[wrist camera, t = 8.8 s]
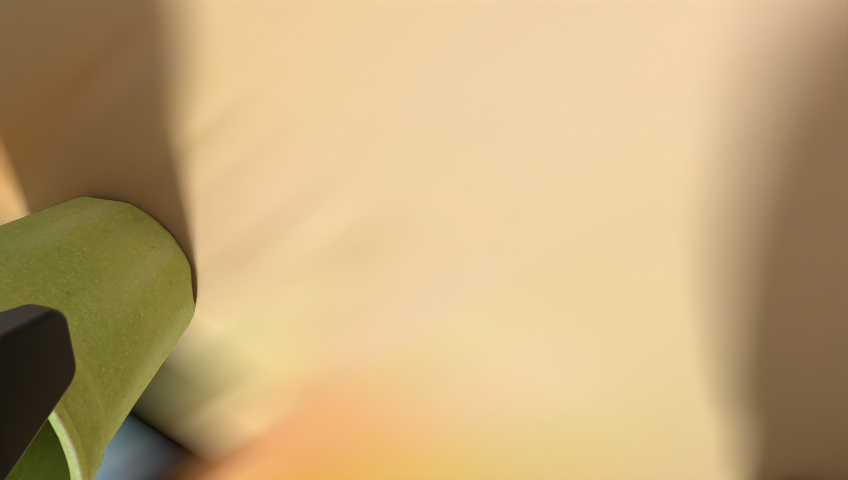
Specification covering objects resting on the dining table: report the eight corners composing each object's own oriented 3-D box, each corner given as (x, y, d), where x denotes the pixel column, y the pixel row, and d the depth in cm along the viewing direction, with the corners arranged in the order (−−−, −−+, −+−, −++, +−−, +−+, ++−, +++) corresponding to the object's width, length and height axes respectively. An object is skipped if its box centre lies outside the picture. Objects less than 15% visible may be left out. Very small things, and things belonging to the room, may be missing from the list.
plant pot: (83, 87, 23) (-186, 193, 16) (294, 295, 24) (143, 482, 17) (-29, 247, 28) (-278, 388, 20) (156, 414, 29) (-12, 603, 22)
